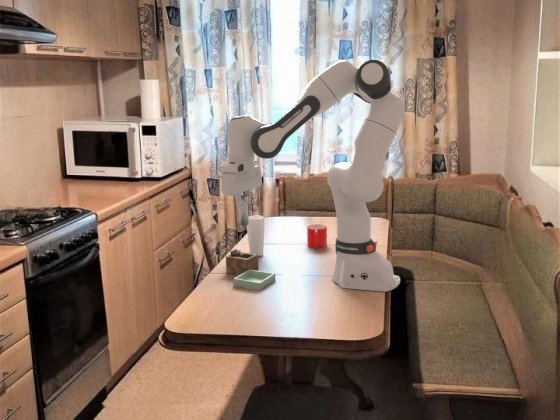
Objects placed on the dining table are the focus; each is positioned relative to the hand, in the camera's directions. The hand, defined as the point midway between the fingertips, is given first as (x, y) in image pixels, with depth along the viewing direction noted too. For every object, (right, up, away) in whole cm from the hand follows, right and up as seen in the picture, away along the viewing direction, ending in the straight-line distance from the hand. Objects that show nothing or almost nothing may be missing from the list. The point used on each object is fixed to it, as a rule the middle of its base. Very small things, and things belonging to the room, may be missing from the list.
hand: (243, 203), depth 199 cm
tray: (+4, -27, -5) cm, 27 cm away
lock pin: (0, -7, +2) cm, 7 cm away
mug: (+27, -17, +34) cm, 47 cm away
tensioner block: (-1, -24, +6) cm, 25 cm away
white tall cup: (+3, -20, +25) cm, 32 cm away
